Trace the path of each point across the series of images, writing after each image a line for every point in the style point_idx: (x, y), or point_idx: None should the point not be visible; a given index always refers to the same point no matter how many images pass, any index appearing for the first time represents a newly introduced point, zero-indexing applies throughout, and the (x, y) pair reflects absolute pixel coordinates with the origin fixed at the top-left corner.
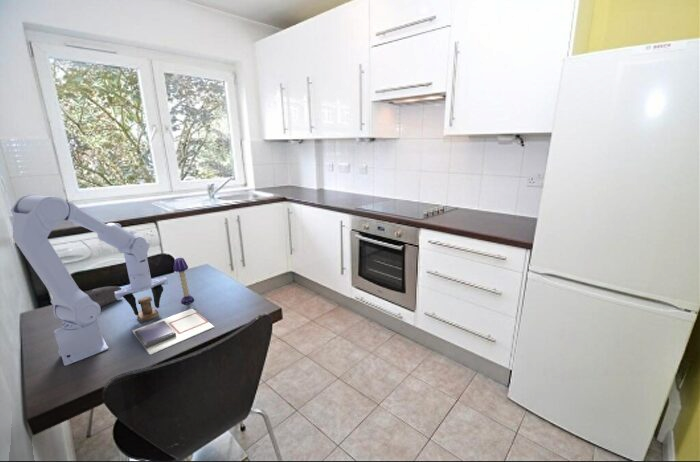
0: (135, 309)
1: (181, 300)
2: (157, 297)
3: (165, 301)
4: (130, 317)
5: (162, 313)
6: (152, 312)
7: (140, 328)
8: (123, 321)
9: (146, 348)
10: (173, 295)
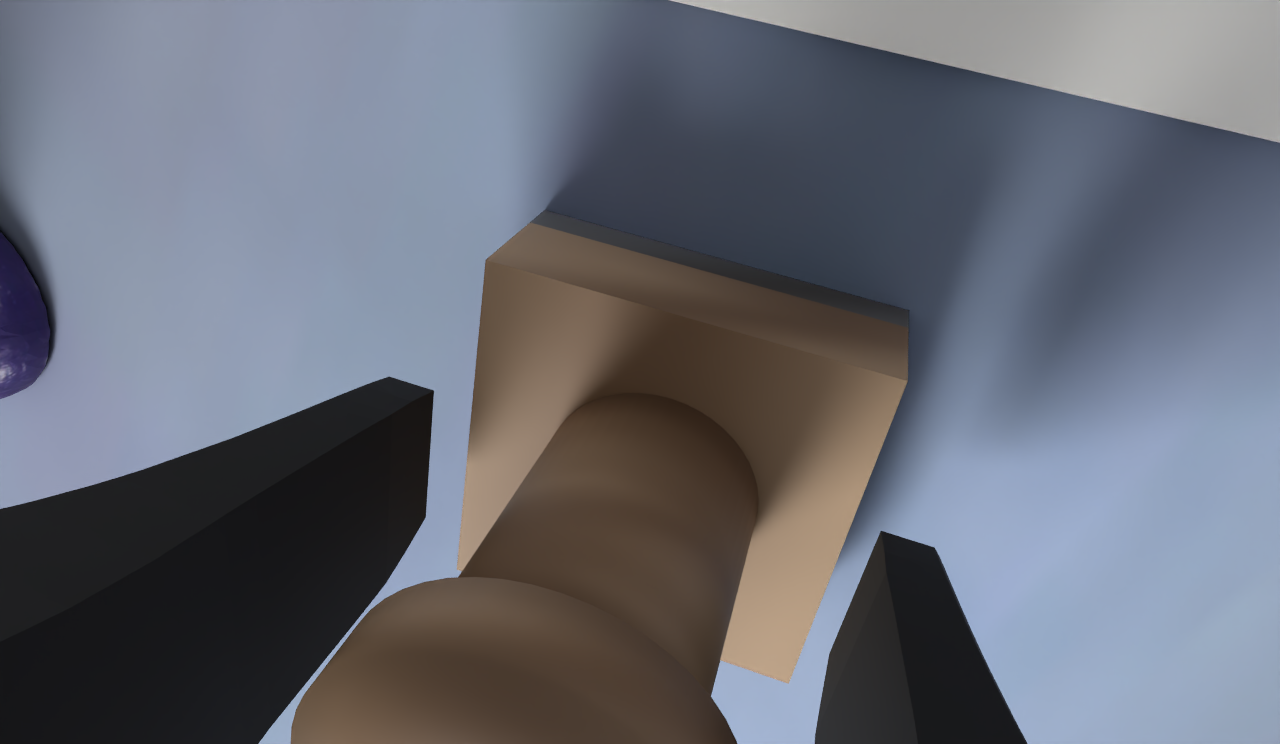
0: (958, 678)
1: (3, 356)
2: (127, 537)
3: None
4: None
5: (434, 298)
6: (584, 376)
7: (1162, 52)
8: (1022, 713)
9: None
10: None
